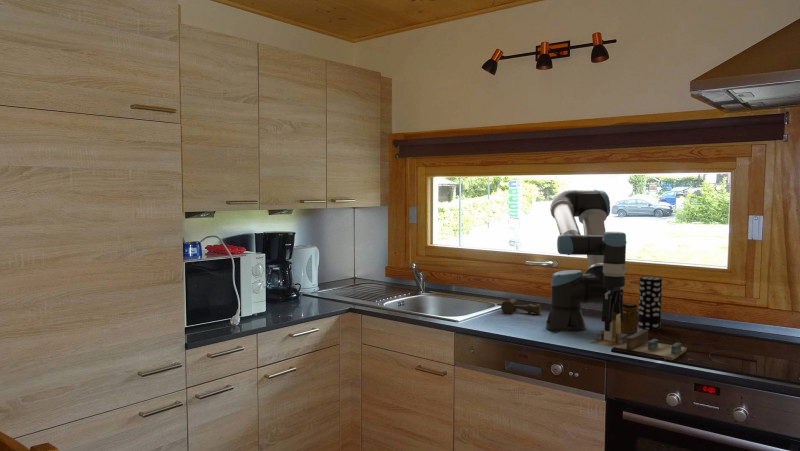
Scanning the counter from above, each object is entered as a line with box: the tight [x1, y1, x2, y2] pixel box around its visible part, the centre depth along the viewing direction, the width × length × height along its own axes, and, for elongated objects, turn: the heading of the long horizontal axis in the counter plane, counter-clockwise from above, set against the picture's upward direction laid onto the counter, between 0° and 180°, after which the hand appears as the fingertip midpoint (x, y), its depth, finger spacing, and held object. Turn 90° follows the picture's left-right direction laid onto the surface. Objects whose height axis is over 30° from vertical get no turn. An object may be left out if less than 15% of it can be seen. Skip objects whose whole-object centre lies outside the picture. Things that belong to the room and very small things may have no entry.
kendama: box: [496, 298, 542, 316], centre depth 262 cm, size 6×10×20 cm
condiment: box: [620, 302, 639, 335], centre depth 221 cm, size 7×8×12 cm
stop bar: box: [604, 312, 621, 343], centre depth 209 cm, size 4×4×10 cm
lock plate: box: [589, 328, 688, 361], centre depth 204 cm, size 28×16×5 cm, turn 49°
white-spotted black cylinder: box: [637, 276, 663, 331], centre depth 234 cm, size 8×8×20 cm
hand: (612, 337), depth 209 cm, fingers open, 7 cm apart
